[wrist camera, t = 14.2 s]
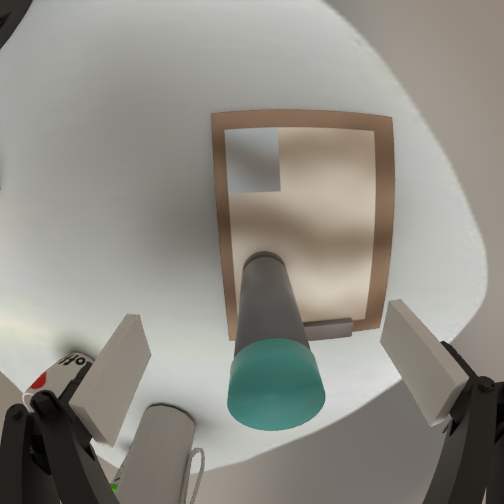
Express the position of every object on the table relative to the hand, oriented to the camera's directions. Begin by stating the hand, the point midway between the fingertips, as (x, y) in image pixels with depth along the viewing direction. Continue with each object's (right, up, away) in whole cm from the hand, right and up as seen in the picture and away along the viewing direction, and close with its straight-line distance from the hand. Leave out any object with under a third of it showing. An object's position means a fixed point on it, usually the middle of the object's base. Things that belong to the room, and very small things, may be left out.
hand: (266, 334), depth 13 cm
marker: (0, +2, +9) cm, 10 cm away
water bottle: (-11, -18, +17) cm, 27 cm away
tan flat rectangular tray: (+4, +6, +9) cm, 12 cm away
